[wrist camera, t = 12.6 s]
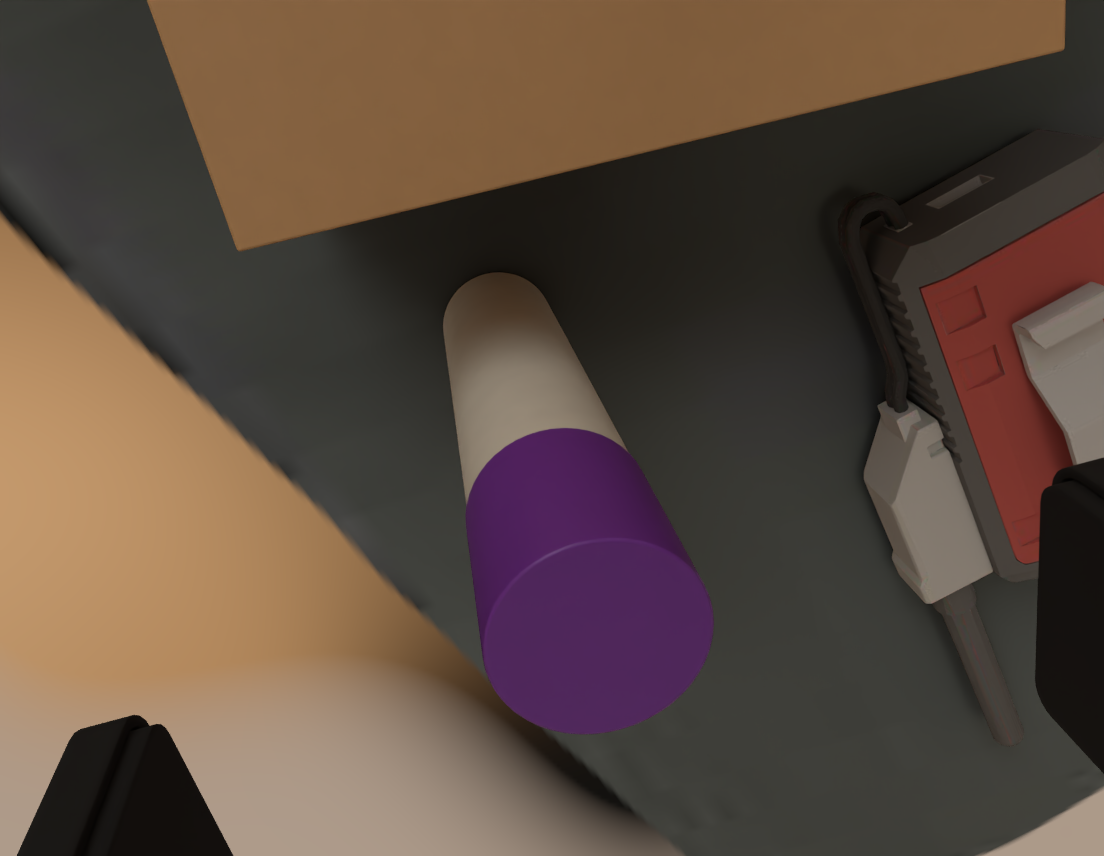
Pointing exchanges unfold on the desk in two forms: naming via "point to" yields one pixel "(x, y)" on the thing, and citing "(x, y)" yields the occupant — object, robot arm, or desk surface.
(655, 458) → the desk surface
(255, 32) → the carton
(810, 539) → the desk surface
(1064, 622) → the robot arm
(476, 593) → the marker
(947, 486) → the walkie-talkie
